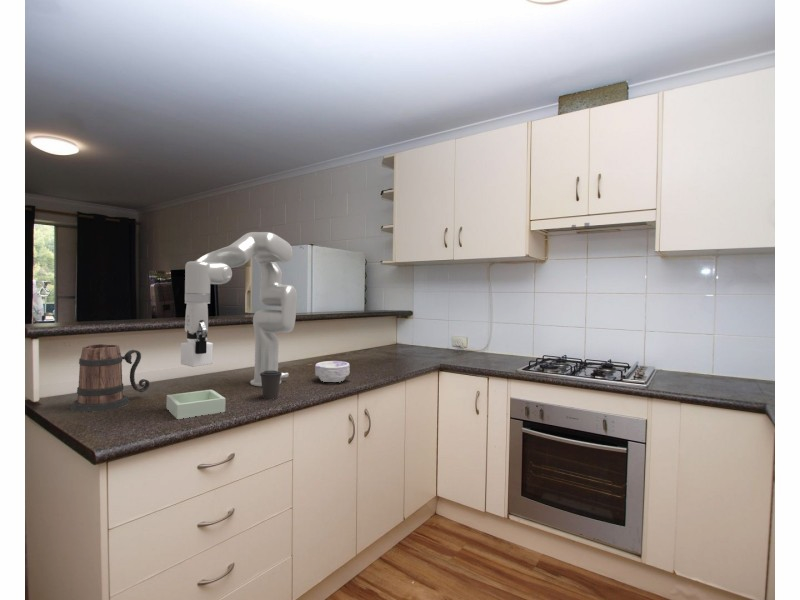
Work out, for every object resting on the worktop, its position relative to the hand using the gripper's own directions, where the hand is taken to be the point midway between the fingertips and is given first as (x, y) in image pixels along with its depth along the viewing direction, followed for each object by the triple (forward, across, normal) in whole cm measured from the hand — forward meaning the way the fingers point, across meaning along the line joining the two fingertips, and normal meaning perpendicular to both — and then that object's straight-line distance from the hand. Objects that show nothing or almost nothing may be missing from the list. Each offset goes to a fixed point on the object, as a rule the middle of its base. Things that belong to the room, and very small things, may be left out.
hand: (196, 351), depth 142 cm
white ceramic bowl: (+20, -13, +60) cm, 65 cm away
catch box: (+20, 0, 0) cm, 20 cm away
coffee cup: (+20, -1, +26) cm, 33 cm away
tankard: (+20, -24, -21) cm, 38 cm away
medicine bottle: (+4, 0, 0) cm, 4 cm away
